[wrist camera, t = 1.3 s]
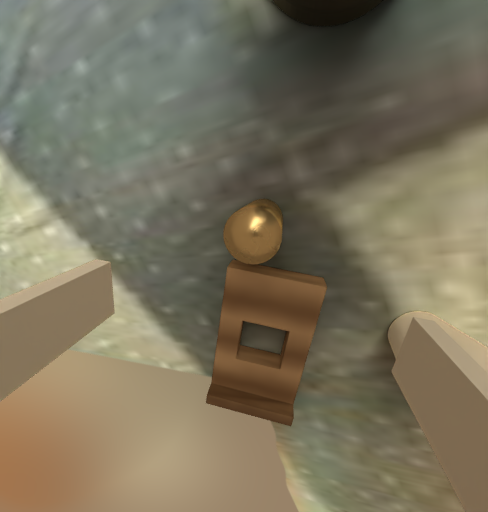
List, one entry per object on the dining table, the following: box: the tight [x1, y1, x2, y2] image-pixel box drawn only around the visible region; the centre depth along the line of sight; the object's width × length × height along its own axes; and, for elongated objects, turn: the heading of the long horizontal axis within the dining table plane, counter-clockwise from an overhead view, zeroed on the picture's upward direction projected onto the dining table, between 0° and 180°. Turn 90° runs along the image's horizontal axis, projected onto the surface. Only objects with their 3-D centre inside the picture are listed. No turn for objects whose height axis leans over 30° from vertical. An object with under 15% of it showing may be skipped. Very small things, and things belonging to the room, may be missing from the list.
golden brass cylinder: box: [224, 199, 283, 264], centre depth 25 cm, size 5×5×10 cm
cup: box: [388, 311, 488, 373], centre depth 25 cm, size 9×9×12 cm
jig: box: [206, 260, 327, 426], centre depth 32 cm, size 20×12×5 cm, turn 171°
